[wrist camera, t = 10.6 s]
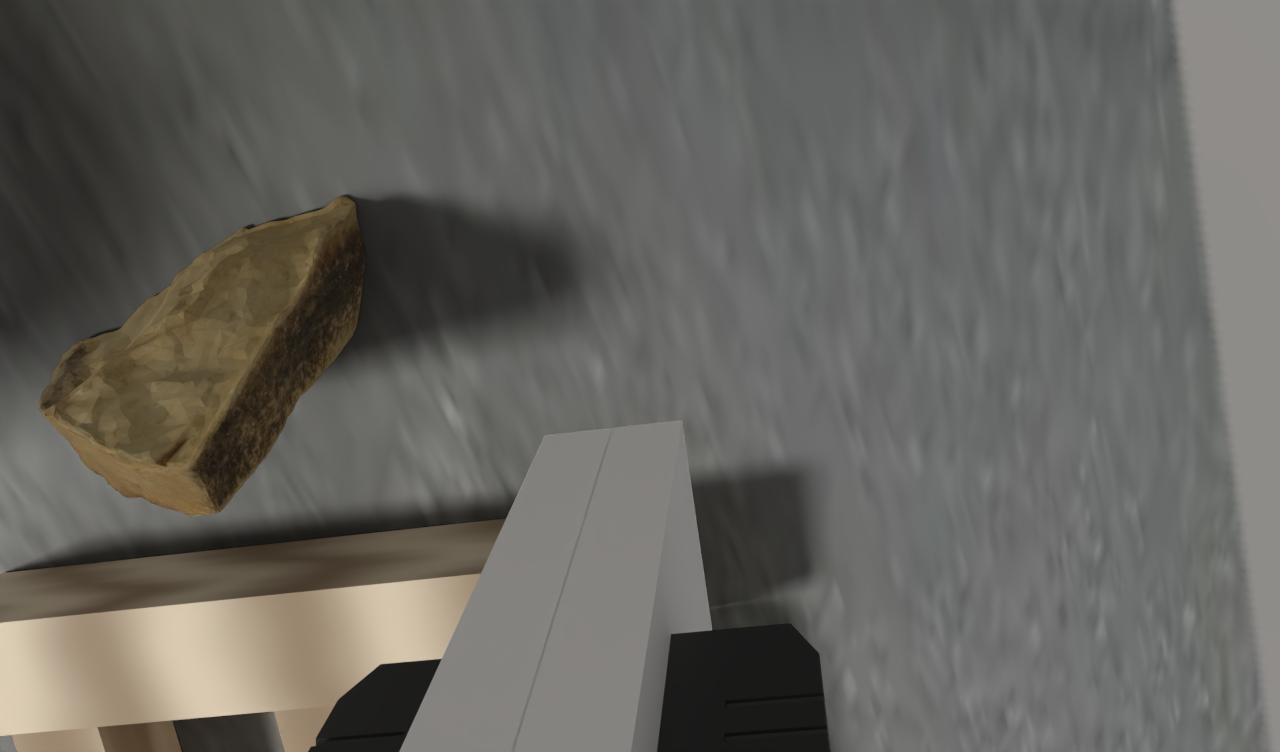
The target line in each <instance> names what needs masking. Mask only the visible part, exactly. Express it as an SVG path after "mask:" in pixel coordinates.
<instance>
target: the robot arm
mask: <svg viewBox="0 0 1280 752" xmlns="http://www.w3.org/2000/svg"><path fill="white" fill-rule="evenodd" d="M308 752H831V751H830V742H829V734H828V725H827V717H826V708H825V700H824V691H823V683H822V674H821V666H820V657H819V653H818V652H817V651H816V650H815V649H814V648H813V647H812V646H811V645H810V644H809V643H808V642H807V641H806V639H805V638H804V637H803V636H802V635H801V634H800V633H799V632H798V631H797V630H796V629H795V628H794V627H793V626H792V625H791V624H778V625H767V626H756V627H745V628H733V629H722V630H712V624H711V617H710V610H709V603H708V596H707V589H706V582H705V575H704V569H703V562H702V555H701V548H700V541H699V534H698V527H697V520H696V513H695V506H694V499H693V493H692V486H691V479H690V472H689V465H688V458H687V451H686V444H685V437H684V430H683V423H682V420H678V421H669V422H660V423H651V424H642V425H633V426H624V427H615V428H606V429H597V430H588V431H579V432H570V433H561V434H552V435H544V437H543V439H542V441H541V444H540V446H539V448H538V450H537V452H536V455H535V457H534V459H533V461H532V463H531V465H530V468H529V470H528V472H527V474H526V476H525V479H524V481H523V483H522V485H521V487H520V489H519V492H518V494H517V496H516V498H515V500H514V503H513V505H512V507H511V509H510V511H509V513H508V516H507V518H506V520H505V522H504V524H503V527H502V529H501V531H500V533H499V535H498V537H497V540H496V542H495V544H494V546H493V548H492V551H491V553H490V555H489V557H488V559H487V561H486V564H485V566H484V568H483V570H482V572H481V575H480V577H479V579H478V581H477V583H476V585H475V588H474V590H473V592H472V594H471V596H470V599H469V601H468V603H467V605H466V607H465V609H464V612H463V614H462V616H461V618H460V620H459V623H458V625H457V627H456V629H455V631H454V633H453V636H452V638H451V640H450V642H449V644H448V646H447V649H446V651H445V653H444V655H443V657H442V659H434V660H423V661H411V662H400V663H389V664H380V665H379V666H378V667H377V668H375V669H374V670H373V671H372V672H371V673H369V674H368V675H367V676H366V677H365V678H363V679H362V680H361V681H360V682H359V683H357V684H356V685H355V686H354V687H353V688H351V689H350V690H349V691H348V692H347V693H345V694H344V695H343V696H342V697H341V698H339V699H338V701H337V702H336V704H335V706H334V708H333V709H332V711H331V713H330V715H329V716H328V718H327V720H326V721H325V723H324V725H323V727H322V728H321V730H320V732H319V734H318V735H317V737H316V746H311V747H310V749H309V751H308Z"/></svg>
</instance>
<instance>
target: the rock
mask: <svg viewBox="0 0 1280 752" xmlns="http://www.w3.org/2000/svg"><path fill="white" fill-rule="evenodd" d="M364 269H365V253H364V246H363V238H362V234H361V231H360V228H359V224H358V221H357V214H356V204H355V202H354V201H352V200H351V199H349V198H347V197H339V198H336V199H335V200H333V201H332V202H331V203H330V204H329V205H328V206H326V207H324V208H323V209H321V210H317V211H313V212H308V213H304V214H301V215H297V216H293V217H291V218H289V219H287V220H282V221H272V222H267V223H264V224H262V225H259V226H257V227H254V228H252V229H246V228H241V229H240V230H238V231H237V232H236V233H234V234H233V235H232V236H230V237H229V238H227V239H225V240H224V241H223V242H221V243H220V244H219V245H217V246H216V247H214V248H212V249H210V250H209V251H207V252H204V253H202V254H201V255H199V256H198V257H196V258H195V259H194V260H193V262H192V264H191V265H189V266H188V267H187V268H186V269H184V270H182V271H181V272H179V273H178V274H177V275H176V276H175V277H174V280H173V283H172V285H170V286H168V287H167V288H165V289H164V290H163V291H162V292H161V293H159V294H158V295H157V296H152V297H150V298H148V299H147V300H146V301H145V302H144V303H143V304H142V305H141V306H140V307H139V308H138V309H137V310H136V311H135V312H134V313H133V314H132V315H131V316H130V318H129V319H128V320H127V321H126V322H125V323H124V324H123V326H122V327H121V328H120V329H119V330H116V331H113V332H108V333H104V334H102V335H99V336H97V337H94V338H89V339H85V340H82V341H80V342H78V343H76V344H74V345H73V346H71V348H70V350H68V351H67V352H66V353H64V354H63V355H62V356H61V361H60V363H59V364H58V366H57V367H56V369H55V370H54V371H53V373H52V375H51V380H50V385H49V386H48V387H46V388H45V390H44V392H43V393H42V395H41V398H40V401H39V405H38V408H39V410H40V412H41V413H42V414H43V416H44V417H45V418H46V419H47V420H48V421H49V422H50V423H51V424H52V425H53V426H54V427H55V428H56V429H57V430H58V431H59V432H60V433H61V434H62V435H63V436H64V437H65V438H66V439H67V440H68V442H69V443H70V444H71V446H72V447H73V449H74V450H75V451H76V452H77V453H78V454H79V456H80V458H81V460H82V461H83V463H84V464H85V465H86V466H87V467H88V468H89V469H91V470H92V471H94V472H95V473H96V474H99V475H101V476H102V477H104V478H105V479H106V481H107V482H108V484H110V485H111V486H112V487H113V488H114V489H115V490H116V491H118V492H120V493H121V494H122V495H123V496H125V497H127V498H138V497H142V498H144V499H146V500H148V501H149V502H150V503H153V504H156V505H158V506H161V507H164V508H167V509H171V510H175V511H179V512H182V513H184V514H186V515H189V516H203V515H207V514H217V513H219V512H220V511H221V510H222V509H223V508H224V507H225V506H226V505H227V504H228V503H229V501H230V500H231V499H232V497H233V496H234V494H235V493H236V492H237V491H238V490H239V489H240V488H241V487H242V486H243V484H244V483H245V482H246V480H247V479H248V478H249V477H250V476H251V475H252V474H253V473H254V472H255V470H256V469H257V467H258V466H259V464H260V463H261V462H262V461H263V460H264V459H265V458H266V456H267V455H268V453H269V452H270V450H271V448H272V446H273V445H274V443H275V442H276V440H277V438H278V436H279V434H280V433H281V431H282V430H283V428H284V426H285V423H286V420H287V417H288V416H289V415H290V414H291V413H292V411H293V409H294V407H295V404H296V403H297V401H298V399H299V397H300V396H301V395H302V394H303V393H305V392H306V391H307V390H308V389H309V388H310V387H311V386H312V385H313V384H314V383H315V382H316V381H317V380H318V378H319V377H320V376H321V374H322V373H323V372H324V370H325V369H327V368H328V367H329V366H330V364H331V363H332V362H333V361H334V360H335V359H336V358H337V357H338V355H339V354H340V352H341V351H342V350H343V348H344V346H345V345H346V344H347V342H348V341H349V340H350V339H351V337H352V336H353V334H354V331H355V329H356V327H357V320H358V315H359V309H360V301H361V296H362V286H363V275H364Z"/></svg>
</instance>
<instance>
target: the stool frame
mask: <svg viewBox="0 0 1280 752" xmlns="http://www.w3.org/2000/svg"><path fill="white" fill-rule="evenodd" d="M505 520H506V519H497V520H487V521H478V522H469V523H460V524H450V525H441V526H432V527H423V528H413V529H404V530H395V531H386V532H376V533H367V534H358V535H349V536H340V537H330V538H321V539H312V540H303V541H293V542H284V543H275V544H266V545H256V546H247V547H238V548H229V549H219V550H210V551H201V552H192V553H182V554H173V555H164V556H155V557H145V558H136V559H127V560H118V561H108V562H99V563H90V564H81V565H71V566H62V567H53V568H44V569H34V570H25V571H16V572H7V573H3V574H1V575H0V736H4V735H12V738H13V741H14V743H15V746H16V749H17V752H182V751H181V748H180V744H179V741H178V738H177V734H176V731H175V728H174V724H173V721H172V720H182V719H193V718H204V717H215V716H226V715H237V714H249V713H260V712H271V711H274V714H275V718H276V721H277V725H278V729H279V732H280V736H281V740H282V743H283V747H284V751H285V752H308V751H309V749H310V747H311V746H316V737H317V735H318V734H319V732H320V730H321V728H322V727H323V725H324V723H325V721H326V720H327V718H328V716H329V715H330V713H331V711H332V709H333V708H334V706H335V704H336V702H337V701H338V699H339V698H341V697H342V696H343V695H344V694H345V693H347V692H348V691H349V690H350V689H351V688H353V687H354V686H355V685H356V684H357V683H359V682H360V681H361V680H362V679H363V678H365V677H366V676H367V675H368V674H369V673H371V672H372V671H373V670H374V669H375V668H377V667H378V666H379V665H380V664H389V663H400V662H411V661H423V660H434V659H442V657H443V655H444V653H445V651H446V649H447V646H448V644H449V642H450V640H451V638H452V636H453V633H454V631H455V629H456V627H457V625H458V623H459V620H460V618H461V616H462V614H463V612H464V609H465V607H466V605H467V603H468V601H469V599H470V596H471V594H472V592H473V590H474V588H475V585H476V583H477V581H478V579H479V577H480V575H481V572H482V570H483V568H484V566H485V564H486V561H487V559H488V557H489V555H490V553H491V551H492V548H493V546H494V544H495V542H496V540H497V537H498V535H499V533H500V531H501V529H502V527H503V524H504V522H505Z"/></svg>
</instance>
